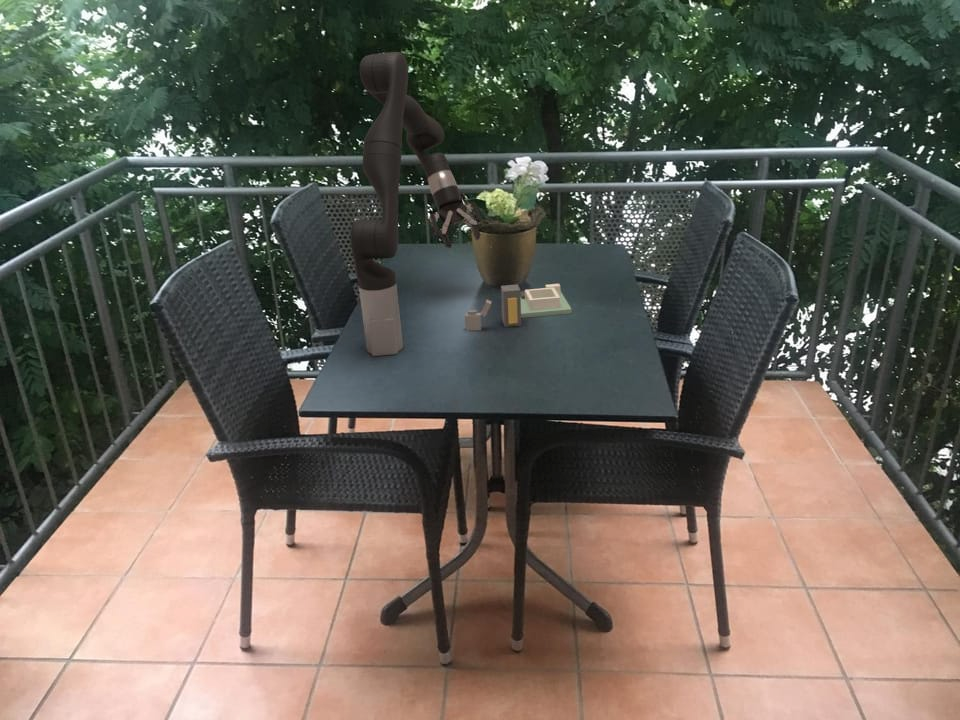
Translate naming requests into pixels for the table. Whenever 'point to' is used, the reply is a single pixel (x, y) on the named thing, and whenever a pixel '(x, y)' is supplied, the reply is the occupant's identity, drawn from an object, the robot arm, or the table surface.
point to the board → (544, 302)
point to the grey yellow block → (511, 305)
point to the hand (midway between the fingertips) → (464, 243)
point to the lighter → (476, 317)
